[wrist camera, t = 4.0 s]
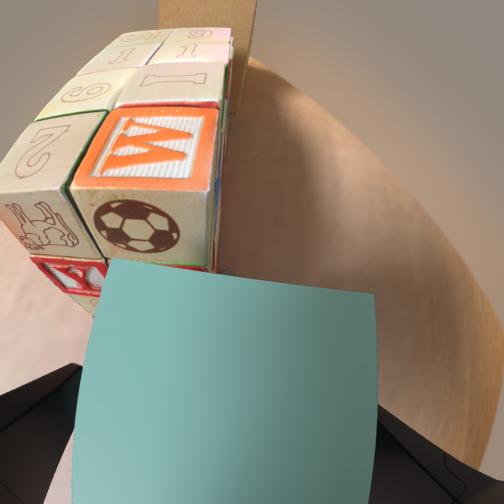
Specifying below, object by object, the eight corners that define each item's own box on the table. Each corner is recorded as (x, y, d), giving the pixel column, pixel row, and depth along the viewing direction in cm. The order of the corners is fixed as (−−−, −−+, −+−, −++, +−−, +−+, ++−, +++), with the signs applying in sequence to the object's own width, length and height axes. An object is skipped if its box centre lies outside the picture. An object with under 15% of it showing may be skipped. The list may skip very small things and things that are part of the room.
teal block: (255, 448, 13) (360, 538, 2) (170, 438, 12) (72, 513, 2) (262, 371, 15) (374, 293, 5) (180, 360, 15) (111, 257, 4)
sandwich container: (243, 64, 35) (257, -25, 23) (240, 115, 28) (262, -18, 15) (185, 61, 34) (191, -28, 21) (160, 112, 27) (158, -20, 14)
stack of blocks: (167, 118, 26) (163, 6, 15) (228, 120, 26) (240, 5, 16) (109, 334, 15) (-26, 191, 4) (213, 344, 15) (209, 185, 5)
